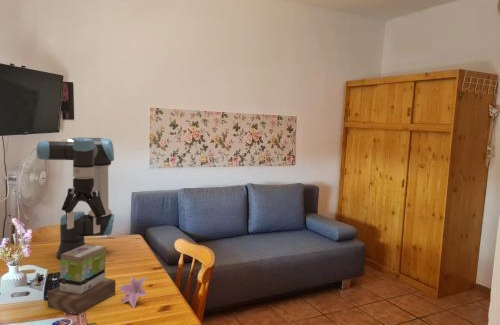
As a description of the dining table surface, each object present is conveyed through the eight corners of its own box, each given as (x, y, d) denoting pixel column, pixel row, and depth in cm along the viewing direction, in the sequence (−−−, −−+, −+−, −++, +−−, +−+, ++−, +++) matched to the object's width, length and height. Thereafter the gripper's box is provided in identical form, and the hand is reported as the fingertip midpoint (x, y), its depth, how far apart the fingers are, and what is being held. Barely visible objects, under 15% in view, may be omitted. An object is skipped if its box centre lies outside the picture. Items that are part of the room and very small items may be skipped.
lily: (118, 299, 153) (112, 284, 148) (144, 283, 159) (139, 268, 154) (130, 318, 145) (123, 303, 140) (157, 301, 151) (152, 286, 146)
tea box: (81, 295, 140) (82, 257, 139) (59, 291, 142) (59, 254, 141) (105, 280, 154) (106, 245, 153) (84, 277, 157) (85, 243, 155)
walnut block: (47, 306, 142) (47, 291, 142) (87, 287, 161) (87, 273, 160) (77, 315, 137) (77, 299, 136) (115, 294, 155) (115, 280, 155)
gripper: (51, 175, 146) (51, 228, 148) (101, 181, 137) (101, 237, 139) (67, 174, 153) (67, 224, 154) (115, 179, 144) (115, 232, 146)
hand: (83, 230), depth 147 cm, fingers open, 13 cm apart
